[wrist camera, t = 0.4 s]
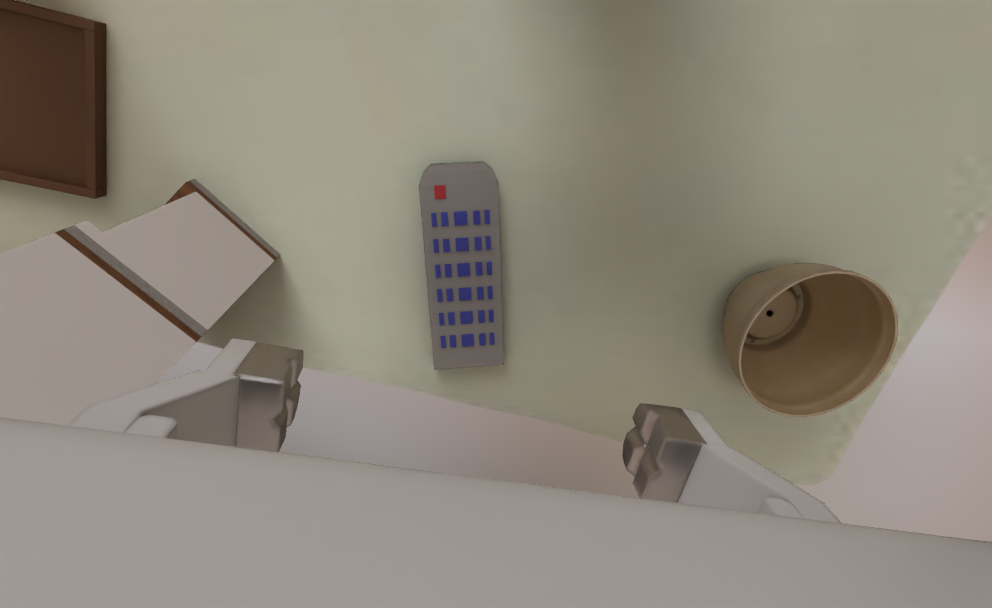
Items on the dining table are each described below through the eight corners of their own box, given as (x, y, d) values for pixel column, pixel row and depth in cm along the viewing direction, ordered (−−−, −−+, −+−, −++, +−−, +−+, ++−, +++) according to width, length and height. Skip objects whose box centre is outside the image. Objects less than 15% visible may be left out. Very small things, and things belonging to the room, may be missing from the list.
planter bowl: (762, 213, 61) (825, 239, 51) (855, 289, 65) (930, 327, 55) (666, 325, 65) (707, 369, 55) (760, 390, 70) (813, 442, 59)
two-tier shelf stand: (194, 178, 55) (-171, 318, 22) (280, 254, 58) (72, 471, 26) (123, 255, 57) (-306, 484, 24) (209, 323, 60) (-64, 603, 28)
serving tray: (-95, -28, 47) (-116, -32, 45) (106, 23, 49) (94, 21, 47) (-75, 158, 52) (-92, 160, 50) (106, 195, 54) (95, 199, 53)
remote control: (434, 361, 64) (433, 371, 62) (418, 163, 56) (417, 167, 54) (502, 357, 65) (504, 366, 63) (496, 160, 56) (498, 163, 54)
